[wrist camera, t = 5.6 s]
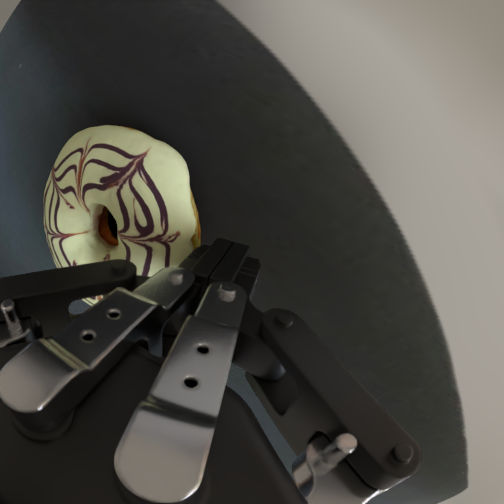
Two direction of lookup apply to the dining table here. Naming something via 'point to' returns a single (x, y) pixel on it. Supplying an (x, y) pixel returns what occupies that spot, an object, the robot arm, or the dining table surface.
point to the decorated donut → (120, 202)
